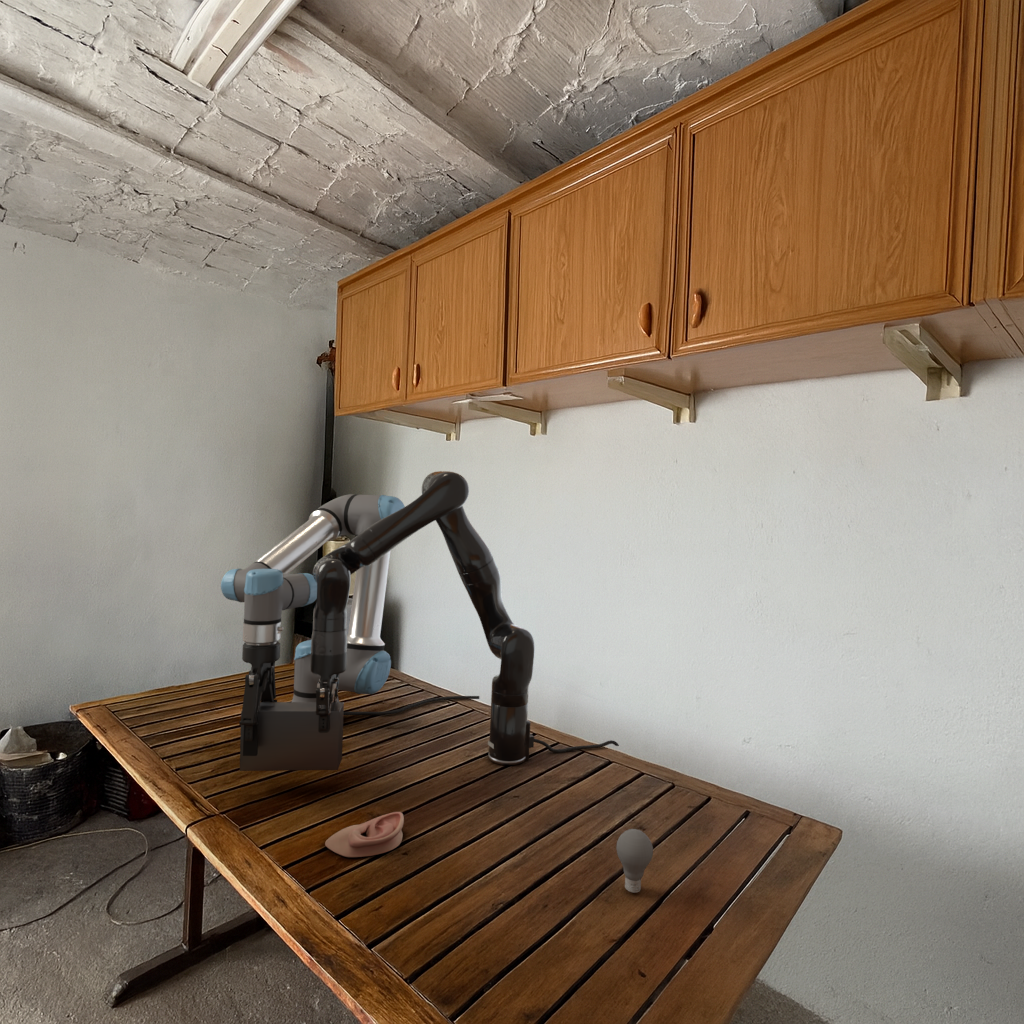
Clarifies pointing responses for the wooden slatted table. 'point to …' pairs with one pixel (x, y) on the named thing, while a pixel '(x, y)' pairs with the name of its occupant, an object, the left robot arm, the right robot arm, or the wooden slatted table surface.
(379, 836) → the anatomical model
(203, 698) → the wooden slatted table surface
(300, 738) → the box
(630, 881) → the light bulb
